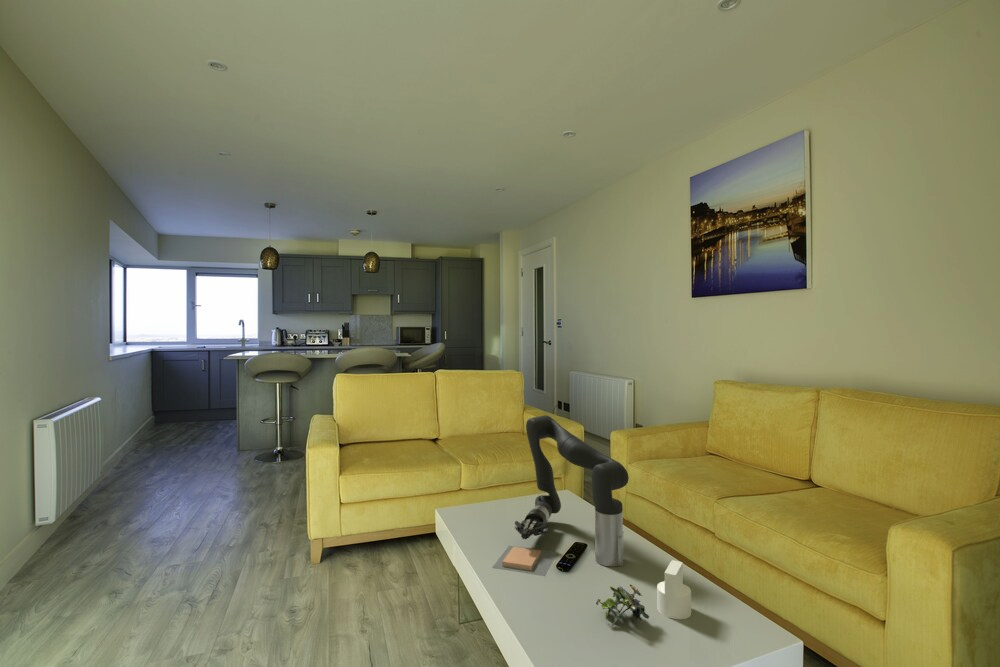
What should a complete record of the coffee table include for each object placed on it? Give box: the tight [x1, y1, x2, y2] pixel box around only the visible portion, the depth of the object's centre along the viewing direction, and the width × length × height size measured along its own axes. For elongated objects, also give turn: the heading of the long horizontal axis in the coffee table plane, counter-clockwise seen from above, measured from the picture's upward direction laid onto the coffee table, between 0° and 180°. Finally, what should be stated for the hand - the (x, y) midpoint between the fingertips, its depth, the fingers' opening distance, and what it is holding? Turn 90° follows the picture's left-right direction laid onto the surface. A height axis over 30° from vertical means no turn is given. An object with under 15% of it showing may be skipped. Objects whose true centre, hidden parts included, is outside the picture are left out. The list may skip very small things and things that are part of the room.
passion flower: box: [595, 584, 650, 626], centre depth 136 cm, size 11×11×12 cm
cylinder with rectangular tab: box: [656, 559, 692, 620], centre depth 141 cm, size 9×9×12 cm
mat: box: [491, 545, 558, 577], centre depth 172 cm, size 18×18×1 cm
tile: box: [502, 546, 541, 571], centre depth 171 cm, size 10×2×12 cm
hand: (524, 536), depth 174 cm, fingers closed
